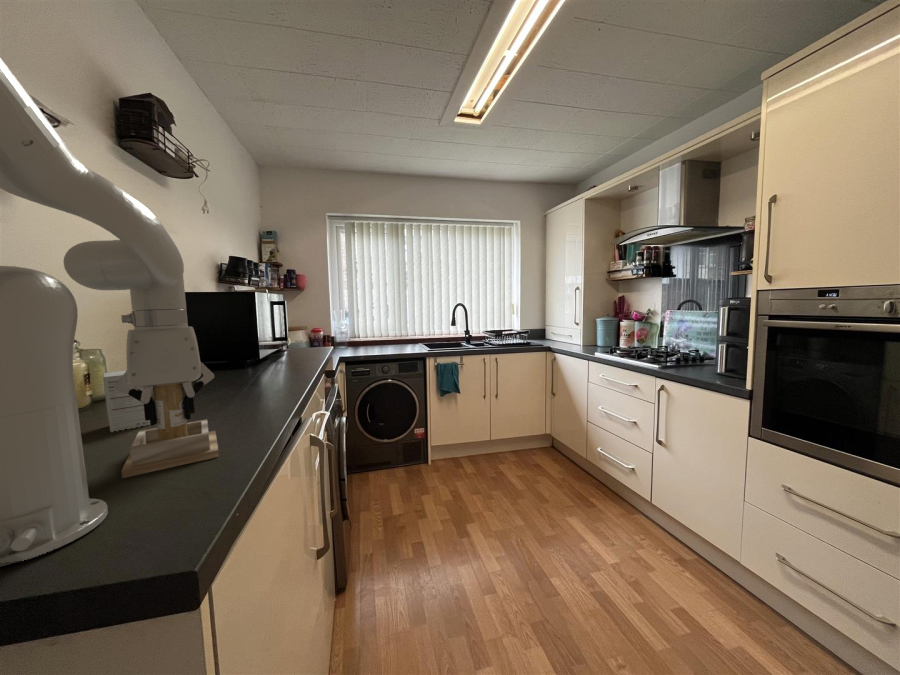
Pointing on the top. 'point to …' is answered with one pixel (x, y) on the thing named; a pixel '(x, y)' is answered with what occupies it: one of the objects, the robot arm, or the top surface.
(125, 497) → the top surface
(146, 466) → the socket board
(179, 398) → the sprinkles bottle
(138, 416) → the supplement box
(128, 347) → the robot arm
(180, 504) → the top surface
